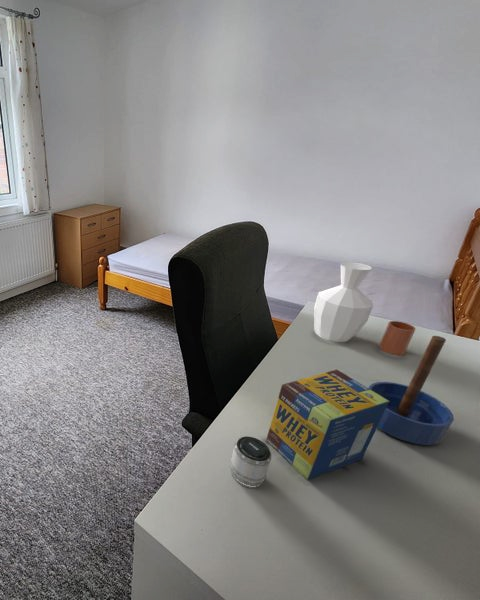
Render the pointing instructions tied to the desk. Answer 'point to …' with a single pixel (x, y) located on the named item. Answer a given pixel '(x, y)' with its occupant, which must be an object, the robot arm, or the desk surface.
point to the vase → (343, 305)
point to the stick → (420, 375)
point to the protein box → (324, 422)
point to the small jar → (250, 461)
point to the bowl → (413, 415)
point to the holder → (397, 337)
